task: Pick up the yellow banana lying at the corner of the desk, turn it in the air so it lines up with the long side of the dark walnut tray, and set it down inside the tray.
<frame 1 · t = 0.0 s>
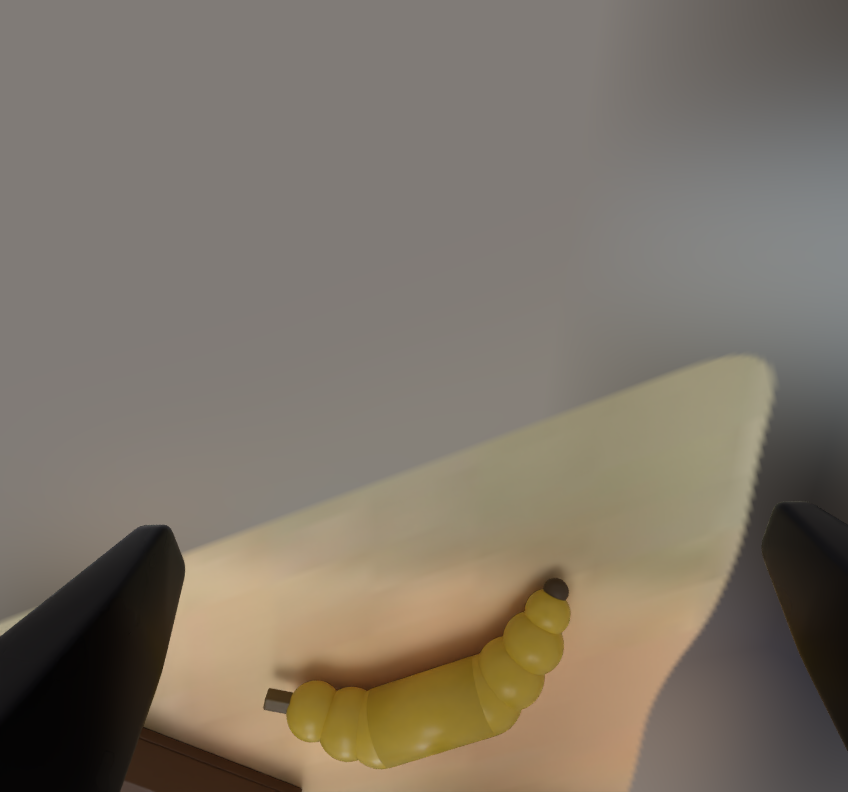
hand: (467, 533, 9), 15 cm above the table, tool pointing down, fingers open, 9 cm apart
banana: (433, 682, 29), on the table
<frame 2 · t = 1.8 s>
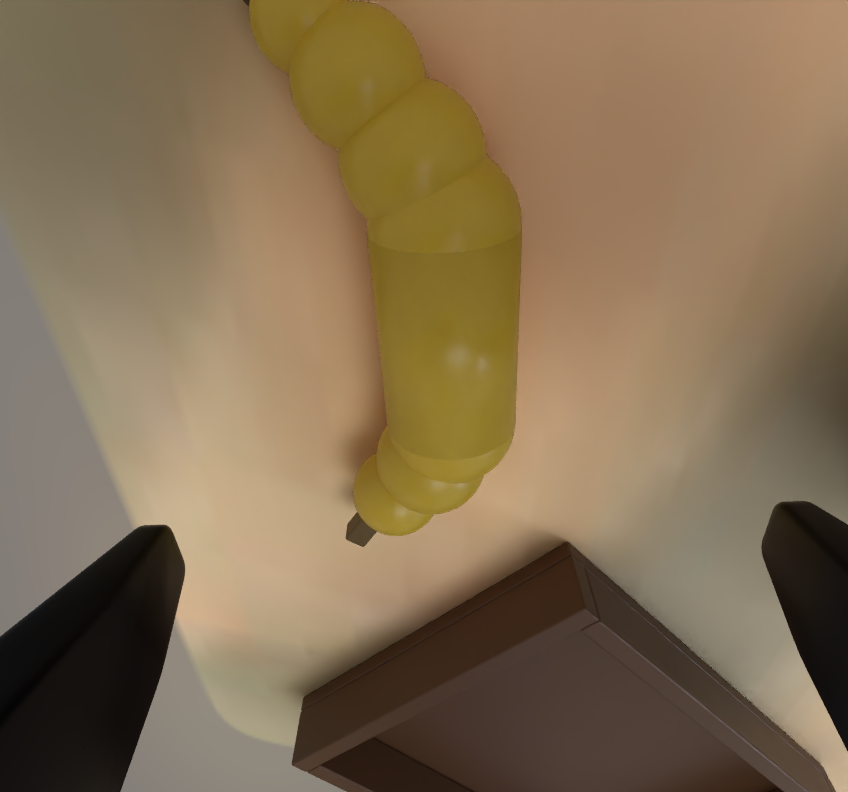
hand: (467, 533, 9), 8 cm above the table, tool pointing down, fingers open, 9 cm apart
tray: (577, 733, 28), on the table
banana: (445, 304, 16), on the table
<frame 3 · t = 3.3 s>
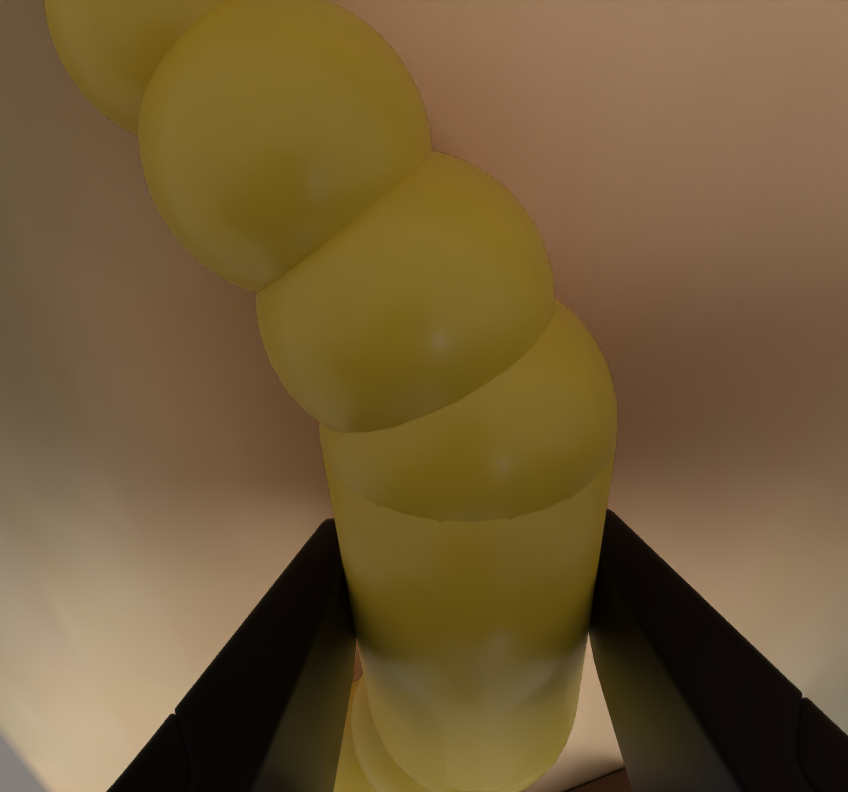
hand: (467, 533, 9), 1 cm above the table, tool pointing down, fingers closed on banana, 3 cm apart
banana: (462, 488, 10), on the table, touching gripper
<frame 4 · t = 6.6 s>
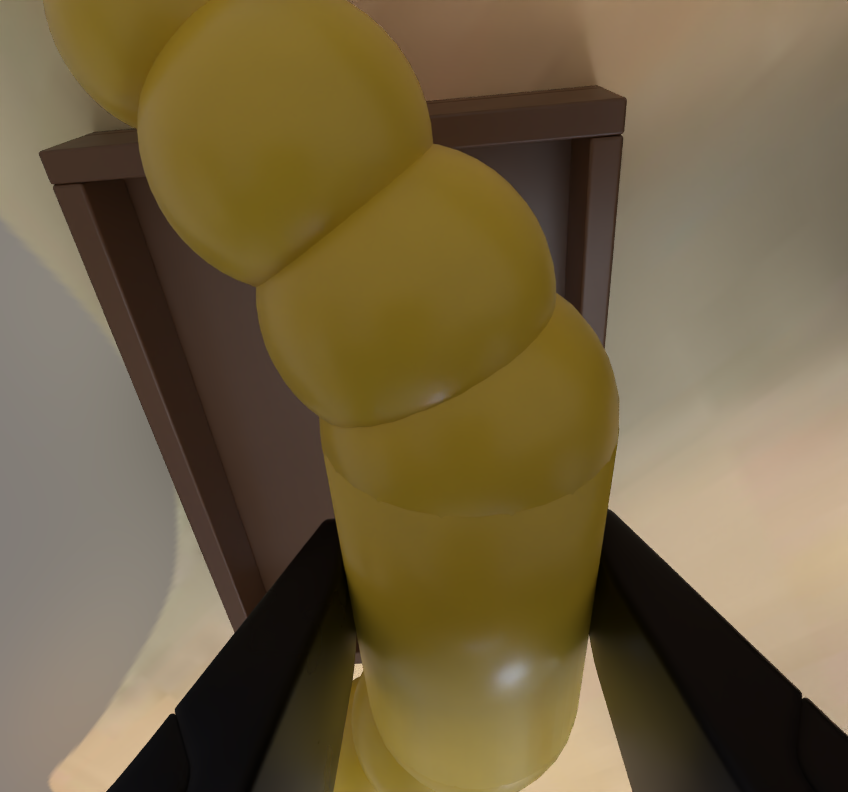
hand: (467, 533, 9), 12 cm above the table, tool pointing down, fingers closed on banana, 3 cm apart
tray: (385, 422, 22), on the table
banana: (463, 485, 10), point 11 cm above the table, touching gripper
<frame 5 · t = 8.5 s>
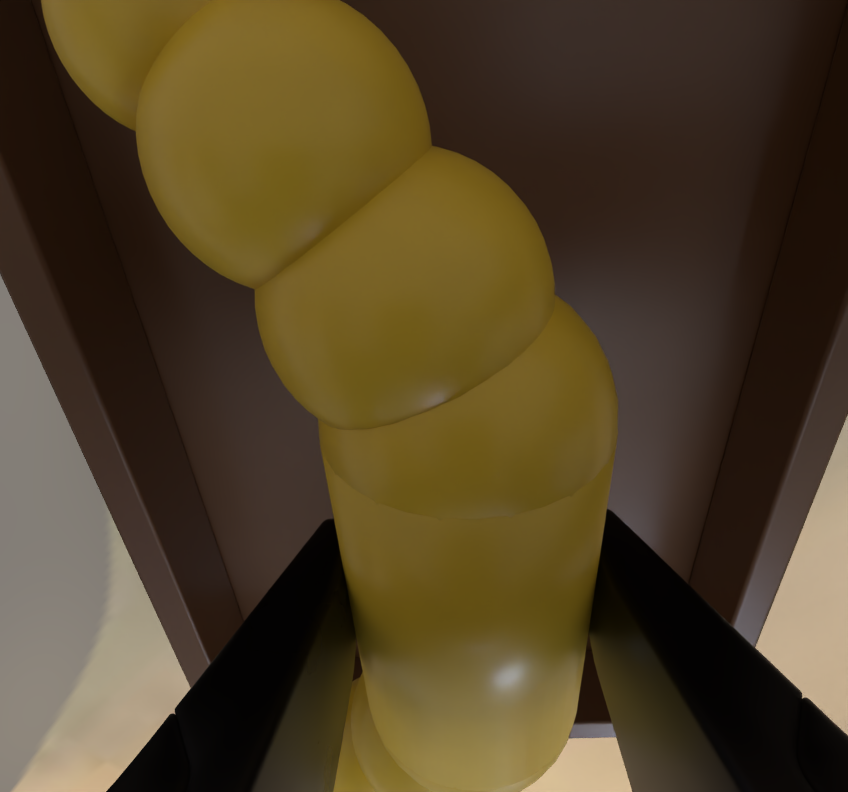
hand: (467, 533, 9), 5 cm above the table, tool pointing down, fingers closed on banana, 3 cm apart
tray: (450, 364, 13), on the table
banana: (462, 486, 10), point 4 cm above the table, touching gripper
when the fingers open (2 cm above the table, at t = 9.7 s): banana stays where it is, resting on tray.
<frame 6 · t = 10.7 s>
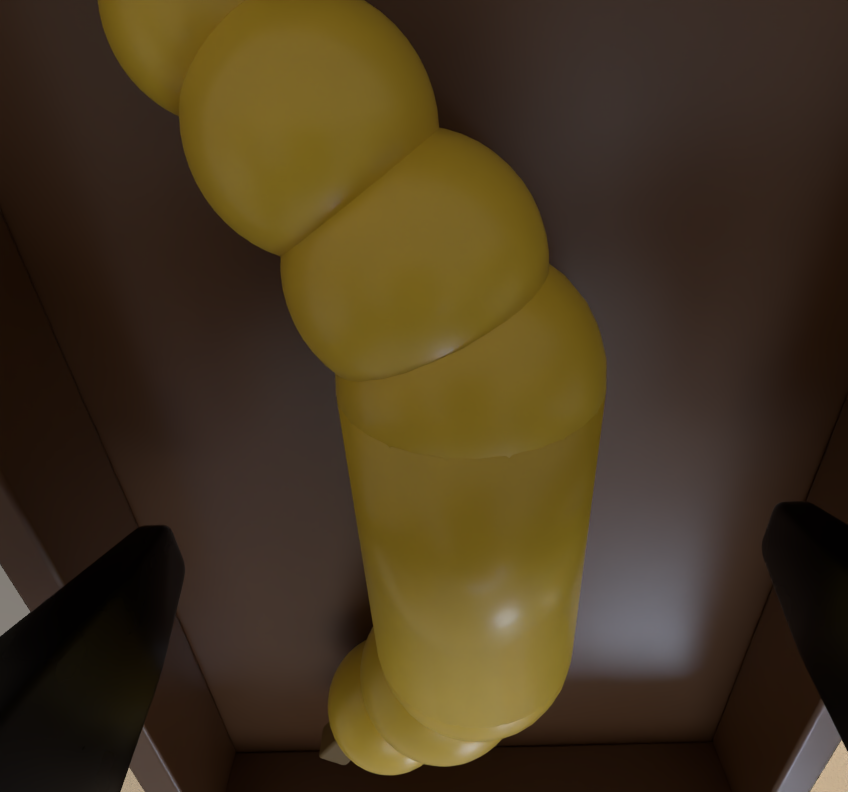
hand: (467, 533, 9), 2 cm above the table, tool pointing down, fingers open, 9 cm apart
tray: (461, 436, 11), on the table
banana: (465, 453, 10), point 1 cm above the table, touching tray
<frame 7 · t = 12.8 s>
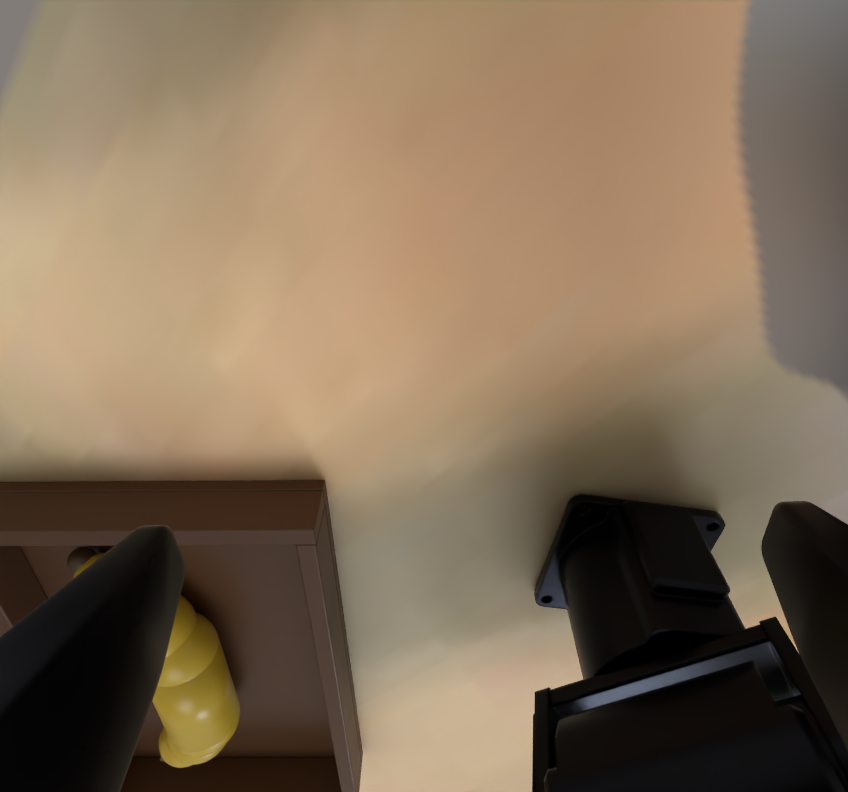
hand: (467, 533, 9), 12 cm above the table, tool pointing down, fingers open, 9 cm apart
tray: (207, 642, 30), on the table
banana: (203, 652, 29), point 1 cm above the table, touching tray
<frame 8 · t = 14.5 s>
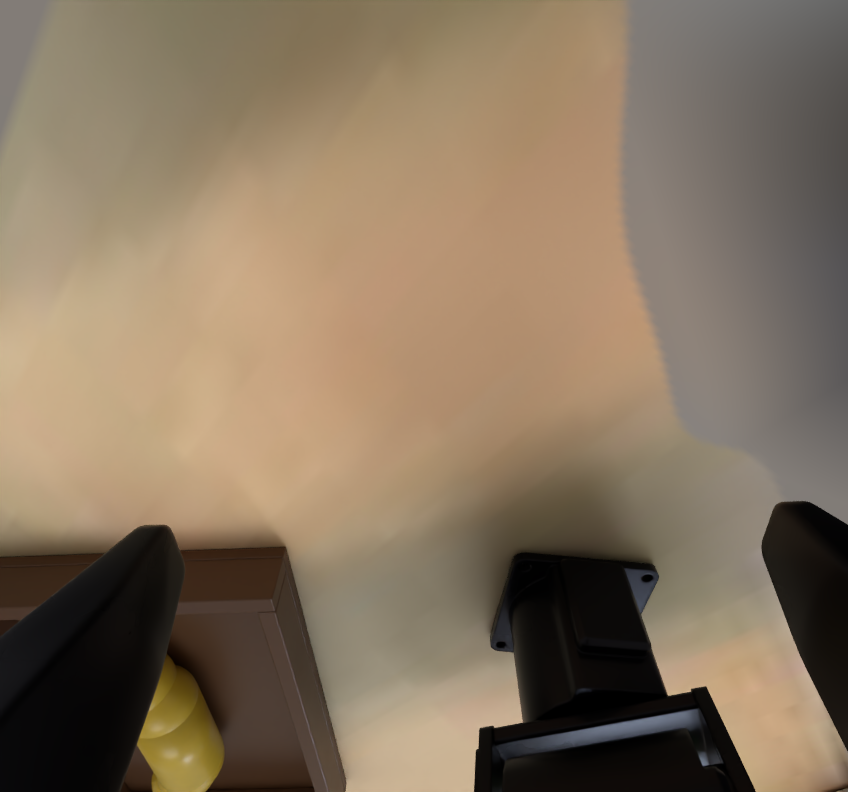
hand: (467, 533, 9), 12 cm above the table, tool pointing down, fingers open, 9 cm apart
tray: (191, 688, 32), on the table
banana: (188, 698, 32), point 1 cm above the table, touching tray
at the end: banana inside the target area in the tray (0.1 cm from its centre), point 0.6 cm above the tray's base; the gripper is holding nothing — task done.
